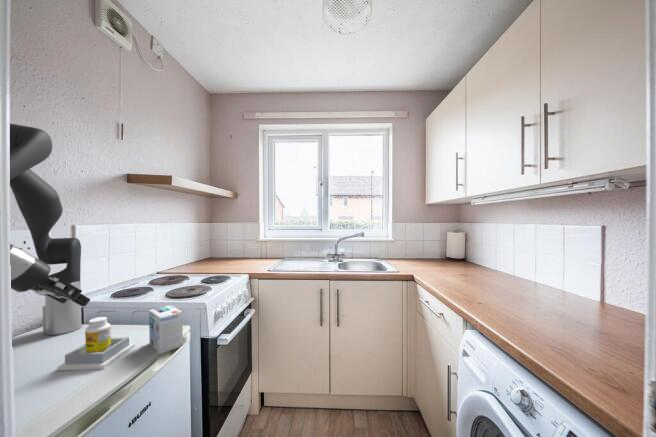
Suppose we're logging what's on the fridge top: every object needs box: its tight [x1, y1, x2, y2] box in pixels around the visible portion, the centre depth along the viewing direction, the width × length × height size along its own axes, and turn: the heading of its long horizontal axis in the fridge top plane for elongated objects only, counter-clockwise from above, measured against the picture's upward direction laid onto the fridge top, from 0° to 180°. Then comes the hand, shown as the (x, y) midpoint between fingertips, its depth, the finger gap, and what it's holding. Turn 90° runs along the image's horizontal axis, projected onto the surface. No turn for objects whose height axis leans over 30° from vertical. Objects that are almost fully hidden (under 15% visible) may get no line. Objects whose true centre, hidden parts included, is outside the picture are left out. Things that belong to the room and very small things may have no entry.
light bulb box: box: [148, 304, 184, 354], centre depth 85 cm, size 11×7×11 cm, turn 48°
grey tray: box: [57, 336, 136, 371], centre depth 78 cm, size 12×12×4 cm
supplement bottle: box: [84, 316, 112, 353], centre depth 78 cm, size 6×6×10 cm
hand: (76, 301), depth 74 cm, fingers open, 8 cm apart
